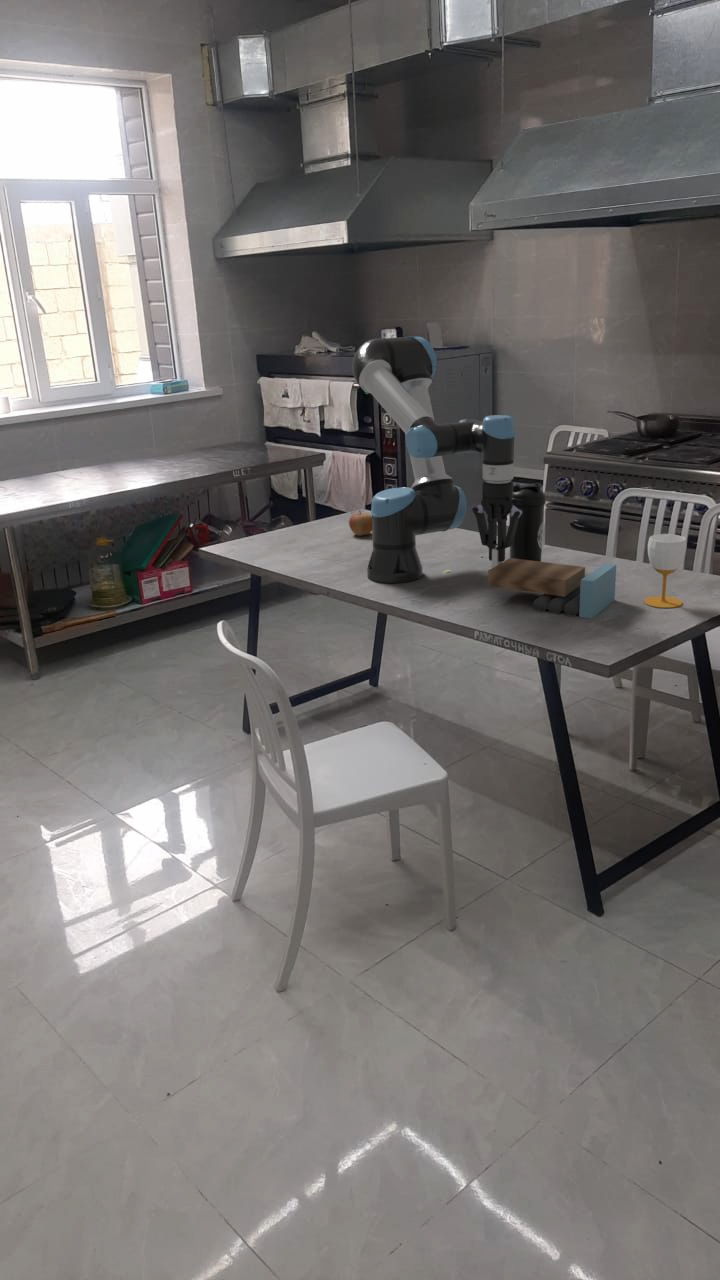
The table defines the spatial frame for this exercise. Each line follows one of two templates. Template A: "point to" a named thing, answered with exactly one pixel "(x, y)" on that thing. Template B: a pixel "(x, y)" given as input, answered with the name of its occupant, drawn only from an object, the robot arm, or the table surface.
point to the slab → (536, 576)
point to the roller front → (572, 606)
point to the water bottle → (528, 522)
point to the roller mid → (562, 601)
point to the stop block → (597, 590)
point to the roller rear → (543, 602)
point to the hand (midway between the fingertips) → (496, 573)
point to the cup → (665, 564)
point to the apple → (361, 524)
